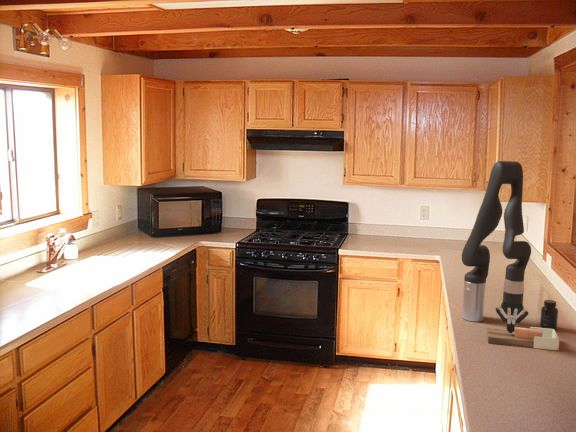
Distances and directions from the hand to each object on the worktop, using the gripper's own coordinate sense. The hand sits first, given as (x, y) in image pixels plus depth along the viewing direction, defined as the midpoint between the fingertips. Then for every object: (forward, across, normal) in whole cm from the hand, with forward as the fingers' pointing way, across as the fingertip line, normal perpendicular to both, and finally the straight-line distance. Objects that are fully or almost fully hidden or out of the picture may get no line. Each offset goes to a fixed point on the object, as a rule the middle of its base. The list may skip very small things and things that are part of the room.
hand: (510, 332), depth 249 cm
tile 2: (+1, -9, 0) cm, 9 cm away
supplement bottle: (+4, -18, -22) cm, 28 cm away
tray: (+4, -13, 0) cm, 13 cm away
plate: (+4, 0, 0) cm, 4 cm away
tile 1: (+1, -4, 0) cm, 4 cm away
